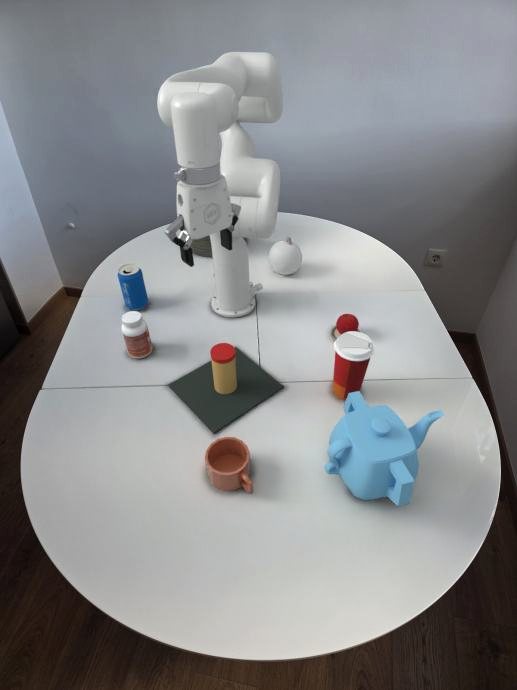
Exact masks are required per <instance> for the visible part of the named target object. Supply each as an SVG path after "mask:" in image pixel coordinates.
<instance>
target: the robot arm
mask: <svg viewBox="0 0 517 690" xmlns="http://www.w3.org/2000/svg"><path fill="white" fill-rule="evenodd" d="M279 67H280V66H279V65H278V62H277V60H276V58H275V56H273V54H271V53H269V52H265V51H263V52H261V51H260V52H259V51H257V52H256V51H229V52H225V53H223V54H221V56H219V57H218V58H217V59H216V60H215V61H214V62H213V63H212V64H208V65H204V66H200V67H197V68H193V69H189V70H188V69H187V70H184V71H180V72H177V73H174V74H172V75H171V76H169V77H168V78H166V79H165V81H164V82H163V83H162V84H161V86H160V88H159V90H158V94H157V99H156V100H157V101H156V106H157V113H158V116H159V118H160V120H161V121H162V123H163V124H164V125H165V126H166V127H168V128H170V129H173V136H174V145H175V152H176V160H177V161H176V162H177V165H176V167H177V170H176V171H175V172H174V171H173V174H172V176H173V179H174V180H175V181H177V183H176V187H177V189H176V216H177V217H176V218H175V220H173V222H171V224H169V225H168V226H167V227H166V228H165V229H164V234H165V236H167V238H168V239H169V241H170V242H172V243H173V244H174V245H176V246H178V247H179V252H180V258H181V261H182V262H183V263H184V264H185V265H187V266H189V267H191V268H192V267H194V266H195V261H194V253H193V252H192V248H190V245H191V243H192V241H193V239H195V240H196V239H200V238H203V237H206V236H208V235H210V239H211V246H212V256H213V257H212V265H213V277H214V287H215V294H214V295H213V297H212V298H211V301H210V305H211V309H212V311H213V312H215V314H217V315H219V316H221V317H225V318H241V317H244V316H245V315H249V314H251V312H253V310H254V309H255V307H256V298H255V296H254V295H255V294H256V293H257V292H259V291H261V290H263V288H264V287H263V284H262V283H261V282H259V283H257V284H255V285H254V282H252V281H250V252H249V247H248V244H247V241H246V242H245V240H244V239H243V238H242V237H245V238H246V239H269V238H271V237H272V236H273V235H274V233H275V232H276V231H275V230H276V227H277V223H278V221H277V220H278V213H279V203H280V194H281V184H282V183H281V182H282V179H281V177H282V175H281V169H280V166H279V164H278V163H277V162H276V161H275V160H273V159H269V158H258V157H255V153H256V144H255V142H254V139H253V137H252V136H251V135H250V134H249V132H248V131H247V130H246V128H244V127H243V126H242V125H241V124H240V123H245V124H246V123H248V124H274V123H277V122H278V121H279V120H280V119H281V117H282V115H283V111H284V96H283V94H284V93H283V87H282V85H283V84H282V78H281V72H280V68H279ZM219 136H220V140H221V151H220V140H219ZM178 231H180V233H179V235H177V232H178ZM186 236H187V238H186ZM185 238H186V240H185Z"/></svg>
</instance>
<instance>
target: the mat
mask: <svg viewBox="0 0 517 690" xmlns="http://www.w3.org/2000/svg"><path fill="white" fill-rule="evenodd" d="M233 347H234V348H235V353H236V356H235V361H236V378H237V388H236V390H235V391H234V392H232V393H230V394H220V393H218V392H217V391H216V390H215V387H214V378H213V369H212V360H210V361H207V362H206V363H204V364H203V365H201V366H199V367H197V368H195V369H194V370H191V371H190V372H188V373H186V374H185V375H183V376H181V377H179V378H178V379H175V380H174V381H172V382H170V383H168V385H167V386H168V387H169V388H170V389H171V390H172V391H173V393H174V394H175V395H176V396H177V397H178V398H179V399H180V400H181V402H183V403H184V404H185V405H186V406H187V408H189V410H190V411H191V412H192V413H193V414H194V415H195V416H196V417H197V418H198V419H199V420H200V421H201V422H202V423H203V424H204V425H205V426H206V427H207V429H208V430H209V431H210V432H211V433H212V434H213V435H214V434H216V433H218V432H219V431H221V430H222V429H224V428H225V427H227V426H228V425H230V424H231V423H233V422H235V421H236V420H237V419H239V418H241V417H243V416H244V415H245V414H246V413H248V412H250V411H252V409H254V408H255V407H257V406H258V405H261V403H263V402H264V401H266V400H267V399H269V398H271V397H272V396H274V395H275V394H277V393H278V392H280V391H281V390H283V389H284V388H285V386H284V385H283V384H282V383H280V382H279V381H278V380H277V379H275V378H274V377H273V376H272V375H270V373H268V372H267V371H266V370H265V369H264V368H263V367H261V366H260V365H258V364H257V362H255V361H254V360H252V359H251V358H250V357H249V356H247V355H246V354H245V353H244V352H243V351H241V349H239V348H238V347H236V346H233Z"/></svg>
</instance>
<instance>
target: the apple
mask: <svg viewBox="0 0 517 690" xmlns="http://www.w3.org/2000/svg"><path fill="white" fill-rule="evenodd" d="M358 319H359V318H357V316H355V314H352V313H343V314H341V315H339V316H338V318H337V320H336V323H335V325H333V327H332V328H331V329H330V332H329V334H330V336H331V338H332V340H333V341H335V340H336V339H337V338H338V337H339V336H340V335H342V334H343V333H346V332H349V331H356V332H360V333H362V332H361V330H360V329H359V327H360V323H359V320H358Z"/></svg>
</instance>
